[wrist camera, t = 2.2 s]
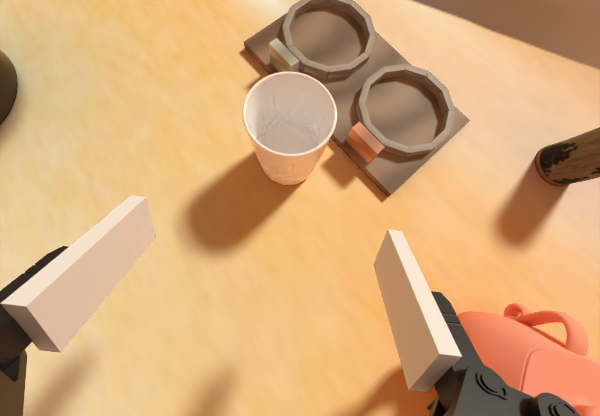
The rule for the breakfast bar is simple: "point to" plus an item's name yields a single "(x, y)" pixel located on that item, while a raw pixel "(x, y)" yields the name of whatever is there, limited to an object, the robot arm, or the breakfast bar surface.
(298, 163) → the white cup
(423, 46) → the breakfast bar surface
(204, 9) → the breakfast bar surface
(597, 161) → the mug
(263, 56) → the board
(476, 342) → the teapot
